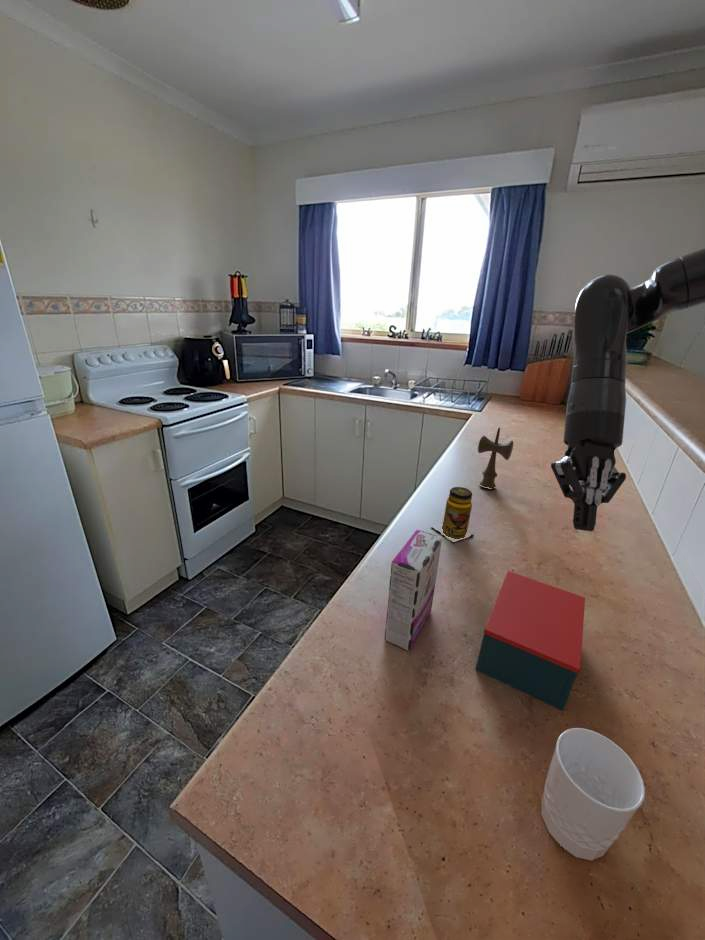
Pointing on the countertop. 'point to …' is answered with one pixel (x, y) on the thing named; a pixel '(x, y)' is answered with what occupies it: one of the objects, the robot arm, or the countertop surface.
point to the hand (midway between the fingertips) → (583, 530)
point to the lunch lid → (539, 620)
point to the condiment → (457, 513)
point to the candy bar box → (412, 588)
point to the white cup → (589, 793)
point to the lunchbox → (525, 671)
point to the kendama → (493, 457)
